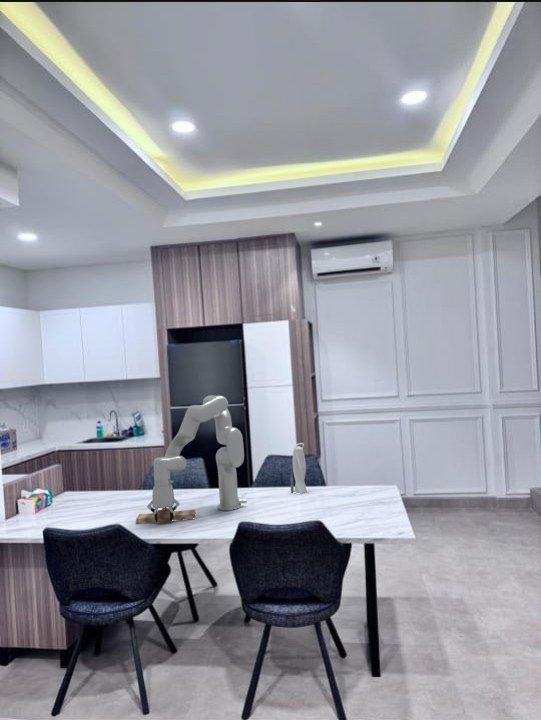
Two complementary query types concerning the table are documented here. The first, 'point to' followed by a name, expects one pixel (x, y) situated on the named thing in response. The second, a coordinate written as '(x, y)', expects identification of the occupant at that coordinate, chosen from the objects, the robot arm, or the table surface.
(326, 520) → the table surface
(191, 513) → the board
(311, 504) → the table surface
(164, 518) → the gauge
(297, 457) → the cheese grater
